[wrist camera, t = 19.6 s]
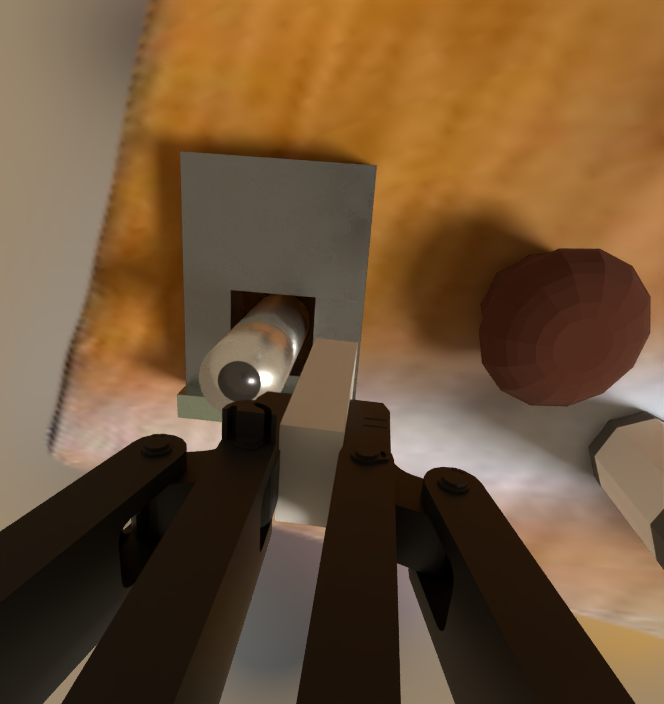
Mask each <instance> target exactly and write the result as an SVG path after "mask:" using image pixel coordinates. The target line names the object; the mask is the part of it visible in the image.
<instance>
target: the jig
mask: <svg viewBox="0 0 664 704" xmlns="http://www.w3.org/2000/svg"><path fill="white" fill-rule="evenodd" d="M180 165H181V203H182V242H183V281H184V319H185V358H186V386H185V387H184V388H183V389H182V390H181V391H180V392H179V393H178V394H177V406H178V417H179V418H189V419H199V420H209V421H219V422H222V413H220V412H218V411H217V410H216V409H214V408H213V407H212V406H211V405H210V404H209V403H208V401H207V400H206V398H205V397H204V395H203V393H202V391H201V388H200V384H199V371H200V366H201V364H202V361H203V360H204V358H205V356H206V355H207V354H208V353H209V352H210V351H211V350H212V349H213V348H214V347H215V346H216V345H217V344H218V343H219V342H220V341H221V340H222V339H223V338H224V337H225V336H226V335H227V334H228V333H229V332H230V331H231V330H232V329H233V328H234V327H235V326H236V325H237V324H238V323H239V322H240V321H241V320H242V319H243V291H248V292H260V293H271V294H283V295H294V296H306V297H316V301H315V317H314V334H313V344H314V342H315V339H316V338H321V339H330V340H340V341H349V342H358V346H357V356H356V366H355V375H354V385H353V395H352V400H355V395H356V384H357V373H358V362H359V352H360V341H361V330H362V319H363V309H364V298H365V287H366V276H367V265H368V255H369V244H370V233H371V222H372V211H373V201H374V190H375V179H376V168H377V165H364V164H350V163H336V162H322V161H308V160H294V159H280V158H266V157H253V156H239V155H225V154H211V153H197V152H183V151H180ZM306 361H307V360H298V359H296V360H295V362H294V365H293V367H292V369H291V371H290V373H289V376H288V378H287V380H286V382H285V384H284V387H283V389H282V391H281V393H288V394H293V392H294V390H295V387H296V385H297V383H298V380H299V378H300V375H301V373H302V371H303V368H304V366H305V363H306Z"/></svg>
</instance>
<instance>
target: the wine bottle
mask: <svg viewBox="0 0 664 704" xmlns="http://www.w3.org/2000/svg"><path fill="white" fill-rule="evenodd" d="M589 451H590V456H591V460H592V465H593V470H594V475H595V477H596V479H597V481H598V483H599V484H600V486H601V487H602V488H603V490H604V491H605V492H606V494H607V495H608V496H609V498H610V499H611V500H612V502H613V503H614V504H615V506H616V507H617V508H618V509H619V511H620V512H621V513H622V515H623V516H624V517H625V519H626V520H627V521H628V523H629V524H630V525H631V527H632V528H633V529H634V531H635V532H636V533H637V535H638V536H639V537H640V539H641V540H642V541H643V543H644V544H645V545H646V547H647V548H648V549H649V551H650V552H651V553H652V555H653V556H654V557H655V559H656V560H657V561H658V563H659V564H660V565H661V567H662V568H663V569H664V421H663V420H661V419H659V418H657V417H655V416H653V415H651V414H649V413H647V412H642V413H638V414H634V415H630V416H626V417H622V418H618V419H614V420H610V421H609V422H608V423H607V424H606V426H605V427H604V428H603V430H602V431H601V432H600V434H599V435H598V436H597V437H596V439H595V440H594V441H593V443H592V444H591V445H590V446H589Z"/></svg>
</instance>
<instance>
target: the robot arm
mask: <svg viewBox="0 0 664 704" xmlns="http://www.w3.org/2000/svg"><path fill="white" fill-rule="evenodd" d="M357 346H358V342H349V341H340V340H330V339H321V338H316V339H315V342H314V344H313V347H312V349H311V351H310V354H309V356H308V359H307V361H306V363H305V366H304V368H303V371H302V373H301V375H300V378H299V380H298V383H297V385H296V387H295V390H294V392H293V394H288V393H280V392H271V391H267V392H266V393H264V394H262V395H260V396H259V397H257V399H256V400H240V401H235V402H232V403H230V404H227V405H226V406H225V407H224V408H222V440H221V442H220V443H219V445H218V447H217V448H216V449H213V450H207V451H196V452H187V446H186V443H185V442H184V440H183V439H181V438H179V437H177V436H174V435H167V434H153V435H150V436H146V437H142V438H140V439H138V440H136V441H134V442H132V443H131V444H130V445H128V446H127V447H125V448H124V449H122V450H121V451H119V452H118V453H116V454H115V455H113V456H112V457H110V458H109V459H107V460H106V461H104V462H103V463H101V464H100V465H98V466H97V467H95V468H94V469H92V470H91V471H89V472H88V473H86V474H85V475H83V476H82V477H81V478H79V479H78V480H76V481H75V482H73V483H72V484H70V485H69V486H67V487H66V488H64V489H63V490H61V491H60V492H58V493H57V494H55V495H54V496H52V497H51V498H49V499H48V500H46V501H45V502H43V503H42V504H40V505H39V506H37V507H36V508H34V509H33V510H31V511H30V512H29V513H27V514H26V515H24V516H23V517H21V518H20V519H18V520H17V521H15V522H14V523H12V524H11V525H9V526H8V527H6V528H5V529H3V530H2V531H0V704H43V703H44V702H45V701H46V700H47V698H48V697H49V696H50V695H51V694H52V693H53V692H54V691H55V690H56V688H57V687H58V686H59V685H60V684H61V683H62V682H63V681H64V680H65V679H66V677H67V676H68V675H69V674H70V673H71V672H72V671H73V670H74V669H75V668H76V666H77V665H78V664H79V663H80V662H81V661H82V660H83V659H84V658H85V657H86V656H87V655H88V653H89V652H90V651H91V650H92V649H93V648H94V647H95V646H96V645H97V646H96V648H95V649H94V651H93V653H92V654H91V656H90V658H89V659H88V661H87V662H86V664H85V666H84V667H83V669H82V671H81V672H80V674H79V676H78V677H77V679H76V681H75V682H74V684H73V686H72V687H71V689H70V691H69V692H68V694H67V695H66V697H65V699H64V700H63V702H62V704H219V702H220V699H221V695H222V692H223V689H224V686H225V682H226V679H227V676H228V673H229V669H230V666H231V663H232V660H233V657H234V654H235V650H236V647H237V644H238V641H239V637H240V634H241V631H242V628H243V625H244V621H245V618H246V615H247V611H248V608H249V605H250V602H251V599H252V595H253V592H254V589H255V585H256V583H257V579H258V576H259V573H260V570H261V566H262V563H263V560H264V557H265V553H266V550H267V547H268V543H269V541H270V537H271V532H272V517H273V513H274V510H275V507H276V515H275V521H282V522H290V523H297V524H305V525H312V526H320V527H326V531H325V537H324V543H323V549H322V555H321V561H320V567H319V573H318V579H317V585H316V590H315V596H314V602H313V609H312V614H311V620H310V626H309V632H308V637H307V644H306V650H305V655H304V661H303V667H302V673H301V679H300V685H299V691H298V697H297V703H296V704H401V695H400V658H399V623H398V586H397V563H398V564H401V565H403V566H406V567H408V568H409V569H408V571H409V578H410V581H411V584H412V586H413V589H414V592H415V595H416V598H417V600H418V603H419V606H420V609H421V611H422V614H423V617H424V620H425V622H426V625H427V628H428V631H429V633H430V636H431V639H432V642H433V644H434V647H435V650H436V653H437V655H438V658H439V661H440V663H441V666H442V669H443V672H444V674H445V677H446V680H447V683H448V685H449V688H450V691H451V694H452V697H453V699H454V702H455V704H635V702H634V701H633V700H632V698H631V697H630V695H629V694H628V693H627V691H626V689H625V688H624V687H623V685H622V684H621V682H620V681H619V679H618V678H617V677H616V675H615V674H614V672H613V671H612V669H611V668H610V666H609V665H608V664H607V662H606V661H605V659H604V658H603V656H602V655H601V654H600V652H599V651H598V649H597V648H596V646H595V645H594V644H593V642H592V641H591V639H590V638H589V636H588V635H587V634H586V632H585V631H584V629H583V628H582V626H581V625H580V624H579V622H578V621H577V619H576V618H575V616H574V615H573V613H572V612H571V611H570V609H569V608H568V606H567V605H566V603H565V602H564V601H563V599H562V598H561V596H560V595H559V593H558V592H557V591H556V589H555V588H554V586H553V585H552V583H551V582H550V581H549V579H548V578H547V576H546V575H545V573H544V572H543V571H542V569H541V568H540V566H539V565H538V563H537V562H536V560H535V559H534V558H533V556H532V555H531V553H530V552H529V550H528V549H527V548H526V546H525V545H524V543H523V542H522V540H521V539H520V538H519V536H518V535H517V533H516V532H515V530H514V529H513V528H512V526H511V525H510V523H509V522H508V520H507V519H506V518H505V516H504V515H503V513H502V512H501V510H500V509H499V507H498V506H497V505H496V503H495V502H494V500H493V499H492V497H491V496H490V495H489V493H488V492H487V490H486V489H485V487H484V486H483V485H482V483H481V482H480V481H479V480H478V479H477V478H476V477H475V476H473V475H471V474H469V473H467V472H466V471H463V470H461V469H457V468H452V467H451V468H449V467H439V468H433V469H431V470H429V471H428V472H427V473H426V474H425V476H424V479H423V478H420V477H417V476H414V475H411V474H409V473H406V472H405V471H403V470H401V469H400V468H399V467H398V466H396V465H395V464H394V459H393V456H392V454H391V444H390V411H389V410H388V409H387V408H386V406H385V405H384V404H383V403H377V402H369V401H360V400H352V395H353V385H354V375H355V366H356V356H357ZM130 518H131V524H130V525H129V526H128V527H127V528H125V529H124V530H123V527H124V526H125V524H126V523H127V522H128V521H129V520H130ZM98 642H99V643H98Z"/></svg>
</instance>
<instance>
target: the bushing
mask: <svg viewBox="0 0 664 704" xmlns="http://www.w3.org/2000/svg"><path fill="white" fill-rule="evenodd" d="M309 328H310V317H309V313H308V311H307V309H306V307H305V306H304V304H303V303H302V302H301V301H300V300H299V299H297V298H296V297H294V296H292V295H283V294H271V295H268V296H266V297H264V298H263V299H262V300H261V301H260V302H259V303H258V304H257V305H256V306H255V307H254V308H253V309H252V310H251V311H250V312H249V313H248V314H247V315H246V316H245V317H244V318H243V319H242V320H241V321H240V322H239V323H238V324H237V325H236V326H235V327H234V328H233V329H232V330H231V331H230V332H229V333H228V334H227V335H226V336H225V337H224V338H223V339H222V340H221V341H220V342H219V343H218V344H217V345H216V346H215V347H214V348H213V349H212V350H211V351H210V352H209V353H208V354H207V355H206V356H205V358H204V360H203V361H202V364H201V366H200V371H199V384H200V388H201V391H202V393H203V395H204V397H205V398H206V400H207V401H208V403H209V404H210V405H211V406H212V407H213V408H214V409H216V410H217V411H218V412H220V413H222V408H224V407H225V406H226V405H227V404H230V403H232V402H235V401H240V400H256V399H257V397H259V396H260V395H262V394H264V393H266V392H267V391H271V392H280V393H281V391H282V389H283V387H284V384H285V382H286V380H287V378H288V376H289V373H290V371H291V369H292V367H293V365H294V362H295V360H296V358H297V356H298V354H299V352H300V349H301V347H302V345H303V343H304V341H305V338H306V336H307V334H308V332H309Z"/></svg>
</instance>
